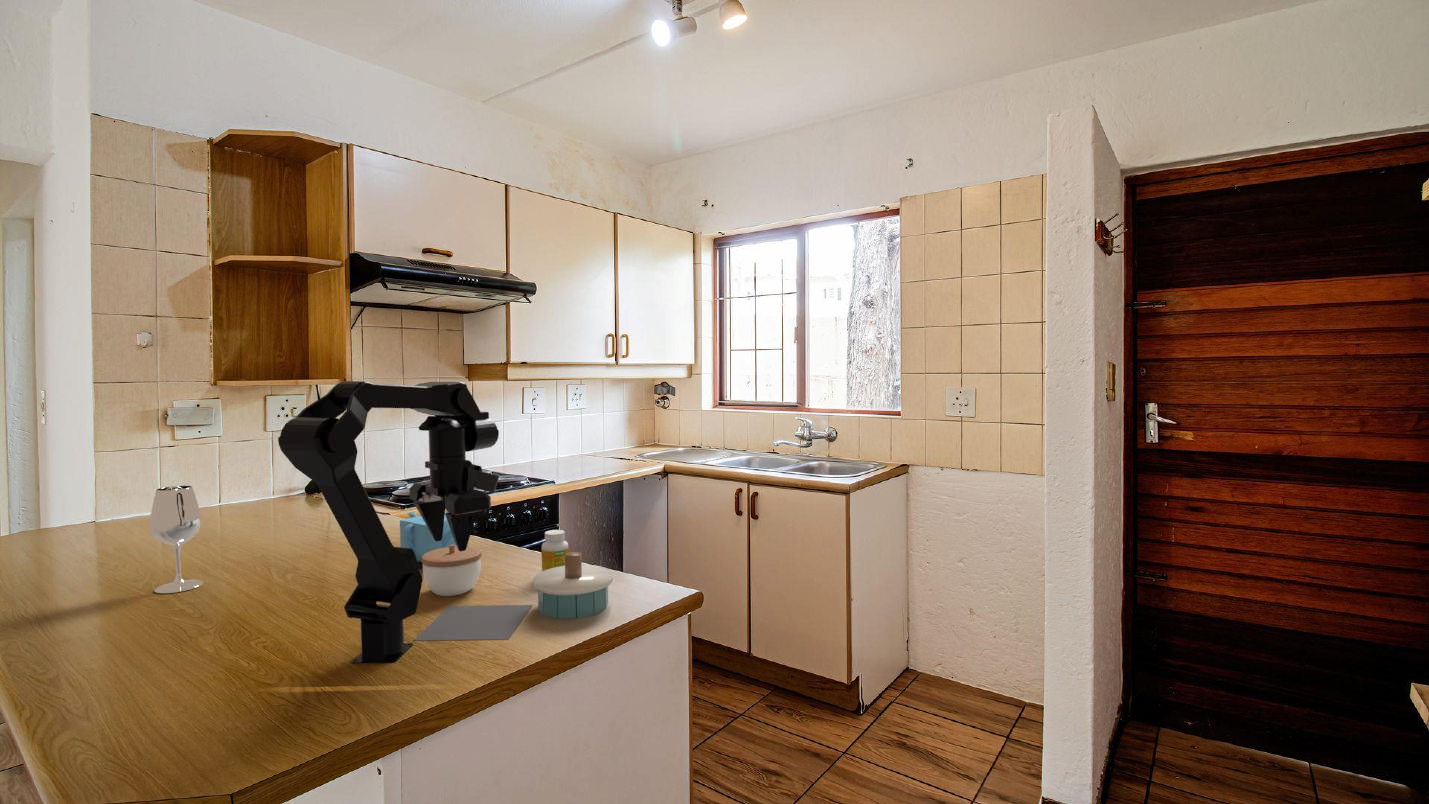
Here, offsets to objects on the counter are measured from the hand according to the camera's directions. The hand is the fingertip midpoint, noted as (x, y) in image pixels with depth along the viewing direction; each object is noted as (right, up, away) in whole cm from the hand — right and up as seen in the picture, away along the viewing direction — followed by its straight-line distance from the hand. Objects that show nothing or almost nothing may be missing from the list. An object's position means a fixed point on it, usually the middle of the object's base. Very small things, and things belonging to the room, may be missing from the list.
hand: (450, 545), depth 112 cm
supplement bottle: (+13, -12, +23) cm, 29 cm away
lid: (+20, -8, +6) cm, 22 cm away
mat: (+5, -13, -1) cm, 14 cm away
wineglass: (-61, -13, +18) cm, 65 cm away
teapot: (-18, -11, +37) cm, 43 cm away
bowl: (+20, -13, +6) cm, 24 cm away
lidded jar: (-5, -13, +15) cm, 20 cm away
